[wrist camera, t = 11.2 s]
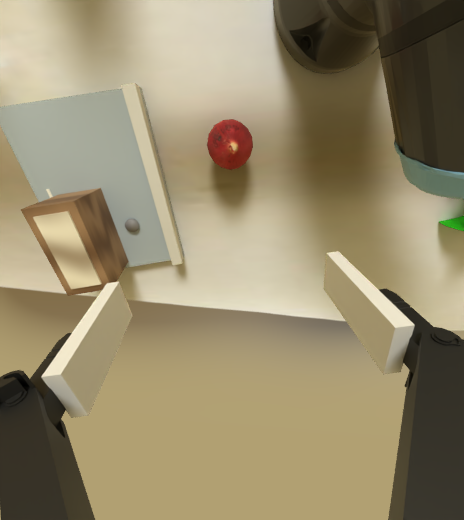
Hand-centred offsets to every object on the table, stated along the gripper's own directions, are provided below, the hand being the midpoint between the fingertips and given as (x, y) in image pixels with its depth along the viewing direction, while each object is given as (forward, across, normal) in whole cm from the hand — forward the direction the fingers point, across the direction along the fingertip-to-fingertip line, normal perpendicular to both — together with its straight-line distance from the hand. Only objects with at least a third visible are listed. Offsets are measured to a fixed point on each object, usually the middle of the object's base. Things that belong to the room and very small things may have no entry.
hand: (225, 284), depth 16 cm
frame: (+24, +19, +2) cm, 31 cm away
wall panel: (+25, +17, -3) cm, 30 cm away
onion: (+26, -2, -7) cm, 27 cm away
